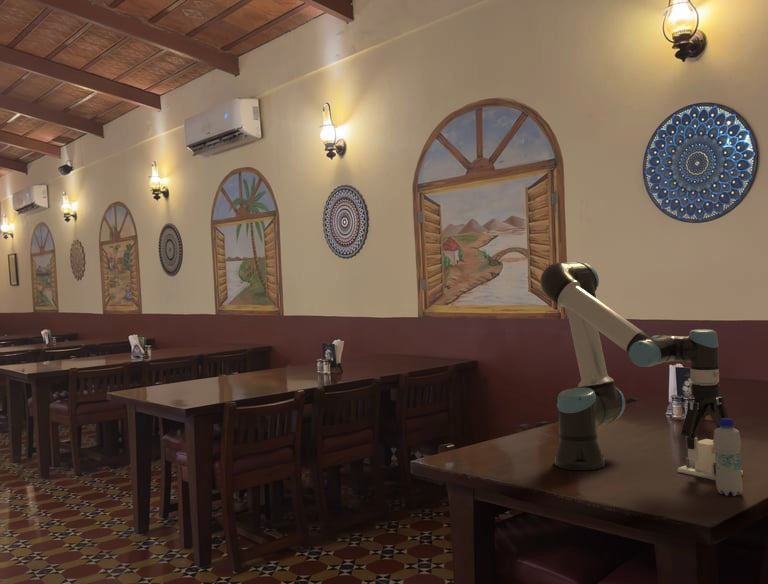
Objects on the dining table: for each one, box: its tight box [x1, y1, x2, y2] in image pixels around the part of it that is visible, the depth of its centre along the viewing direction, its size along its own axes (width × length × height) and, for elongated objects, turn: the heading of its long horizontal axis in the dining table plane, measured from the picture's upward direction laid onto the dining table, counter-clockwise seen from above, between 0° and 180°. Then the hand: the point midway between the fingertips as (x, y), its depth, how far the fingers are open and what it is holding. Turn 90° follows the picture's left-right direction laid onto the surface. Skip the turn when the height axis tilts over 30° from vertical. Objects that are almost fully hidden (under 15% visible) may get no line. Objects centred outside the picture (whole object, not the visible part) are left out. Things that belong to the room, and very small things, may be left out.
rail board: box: [677, 457, 744, 481], centre depth 202 cm, size 10×14×3 cm
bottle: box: [712, 417, 744, 497], centre depth 183 cm, size 7×7×20 cm
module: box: [695, 438, 716, 473], centre depth 202 cm, size 6×5×8 cm
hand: (707, 455), depth 202 cm, fingers open, 13 cm apart
